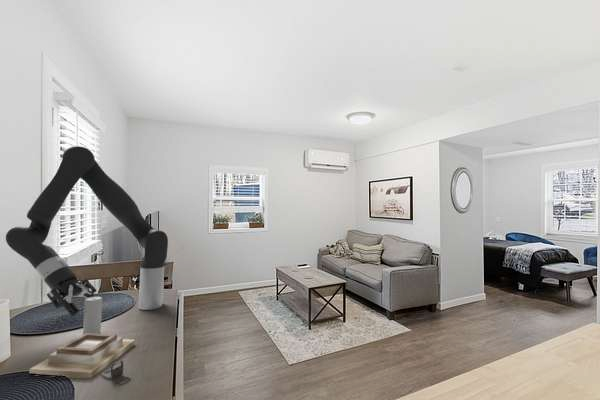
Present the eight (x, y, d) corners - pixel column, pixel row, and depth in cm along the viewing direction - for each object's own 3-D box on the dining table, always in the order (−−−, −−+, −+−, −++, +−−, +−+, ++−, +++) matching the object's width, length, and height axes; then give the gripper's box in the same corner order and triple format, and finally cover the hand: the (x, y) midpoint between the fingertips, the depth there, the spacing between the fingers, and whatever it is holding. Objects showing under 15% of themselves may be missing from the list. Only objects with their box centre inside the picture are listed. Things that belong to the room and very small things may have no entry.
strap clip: (100, 377, 73) (101, 360, 73) (112, 371, 75) (113, 354, 75) (119, 387, 69) (120, 370, 69) (132, 381, 71) (133, 364, 71)
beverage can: (90, 338, 92) (93, 301, 92) (78, 336, 93) (81, 299, 93) (103, 332, 97) (106, 297, 97) (92, 330, 98) (94, 295, 98)
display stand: (85, 341, 90) (86, 326, 90) (134, 344, 89) (135, 329, 89) (29, 374, 72) (30, 356, 72) (90, 378, 71) (91, 359, 71)
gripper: (44, 270, 89) (77, 308, 88) (81, 261, 103) (110, 295, 102) (27, 286, 89) (60, 325, 88) (66, 275, 103) (95, 309, 102)
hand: (87, 309), depth 95 cm, fingers open, 8 cm apart
